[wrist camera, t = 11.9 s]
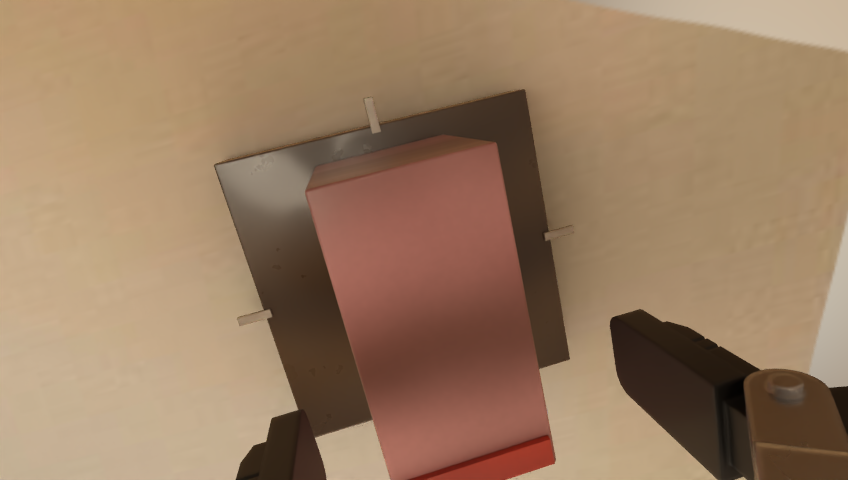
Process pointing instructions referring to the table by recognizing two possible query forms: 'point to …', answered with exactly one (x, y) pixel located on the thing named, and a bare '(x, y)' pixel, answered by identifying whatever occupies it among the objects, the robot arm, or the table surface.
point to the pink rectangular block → (435, 308)
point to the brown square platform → (305, 265)
